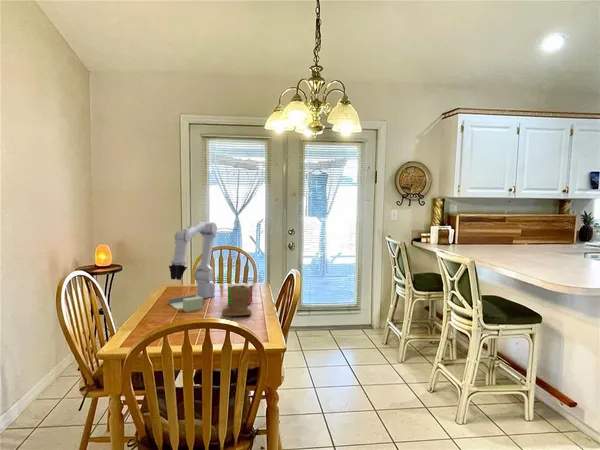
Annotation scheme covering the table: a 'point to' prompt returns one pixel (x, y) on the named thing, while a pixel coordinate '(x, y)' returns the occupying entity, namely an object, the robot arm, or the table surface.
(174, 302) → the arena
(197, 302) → the green block
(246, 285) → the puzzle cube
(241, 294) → the brown boot
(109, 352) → the table surface
